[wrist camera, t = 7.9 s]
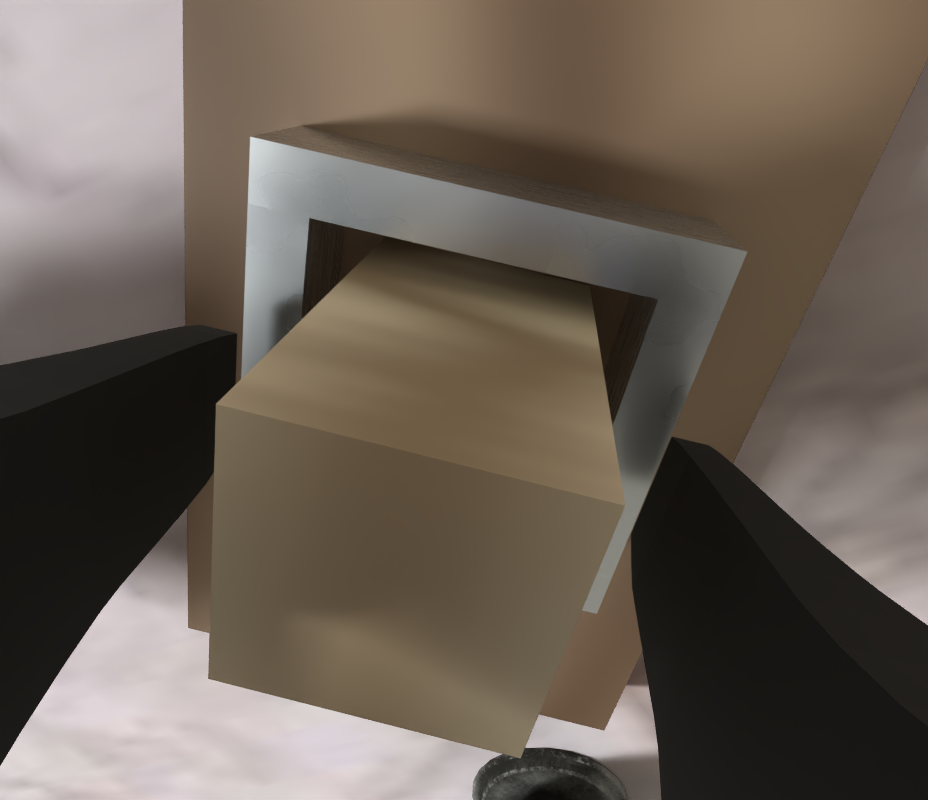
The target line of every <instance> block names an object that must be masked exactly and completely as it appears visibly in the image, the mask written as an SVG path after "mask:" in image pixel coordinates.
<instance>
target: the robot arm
mask: <svg viewBox="0 0 928 800" xmlns="http://www.w3.org/2000/svg"><path fill="white" fill-rule="evenodd" d="M236 356H237V333H234V332H230V331H226V330H221V329H217V328H213V327H209V326H204V325H192V326H184V327H178V328H173V329H168V330H163V331H158V332H154V333H149V334H145V335H141V336H136V337H132V338H128V339H123V340H119V341H115V342H110V343H106V344H102V345H98V346H93V347H89V348H85V349H80V350H76V351H71V352H66V353H61V354H56V355H51V356H46V357H41V358H36V359H31V360H26V361H21V362H16V363H11V364H6V365H0V765H1V764H2V762H3V760H4V759H5V757H6V756H7V754H8V752H9V751H10V749H11V747H12V746H13V744H14V742H15V741H16V739H17V737H18V736H19V734H20V732H21V731H22V729H23V728H24V726H25V725H26V723H27V721H28V720H29V718H30V717H31V715H32V714H33V712H34V711H35V709H36V707H37V706H38V704H39V703H40V701H41V700H42V698H43V697H44V695H45V693H46V692H47V690H48V689H49V687H50V686H51V684H52V683H53V681H54V679H55V678H56V676H57V675H58V673H59V672H60V670H61V669H62V667H63V666H64V664H65V663H66V661H67V660H68V658H69V657H70V655H71V654H72V652H73V651H74V649H75V648H76V647H77V645H78V644H79V642H80V641H81V639H82V638H83V636H84V635H85V633H86V632H87V630H88V629H89V627H90V626H91V625H92V623H93V622H94V620H95V619H96V617H97V616H98V614H99V613H100V611H101V610H102V609H103V607H104V606H105V605H106V604H107V602H108V601H109V600H110V598H111V597H112V596H113V595H114V593H115V592H116V591H117V589H118V588H119V587H120V586H121V584H122V583H123V582H124V581H125V580H126V579H127V577H128V576H129V575H130V574H131V573H132V572H133V570H134V569H135V568H136V567H137V566H138V564H139V563H140V562H141V561H142V560H143V559H144V557H145V556H146V555H147V554H148V553H149V552H150V550H151V549H152V548H153V547H154V546H155V545H156V543H157V542H158V541H159V540H160V539H161V538H162V536H163V535H164V534H165V533H166V532H167V531H168V529H169V528H170V527H171V526H172V525H173V523H174V522H175V521H176V520H177V519H178V518H179V516H180V515H181V514H182V513H183V512H184V510H185V509H186V508H187V507H188V506H189V504H190V503H191V502H192V501H193V500H194V498H195V497H196V496H197V495H198V494H199V492H200V491H201V490H202V489H203V487H204V486H205V485H206V483H207V482H208V480H209V479H210V477H211V476H212V474H213V473H214V458H215V422H216V403H217V402H218V401H220V400H221V399H222V398H223V397H224V396H225V395H226V394H227V393H228V392H229V391H230V390H231V389H232V388H233V387H234V386H235V385H236ZM631 574H632V591H633V597H634V604H635V610H636V616H637V622H638V628H639V634H640V639H641V645H642V651H643V656H644V662H645V668H646V673H647V679H648V685H649V691H650V696H651V702H652V708H653V713H654V720H655V727H656V735H657V743H658V753H659V768H660V783H661V798H662V800H928V625H926V624H925V623H923V622H922V621H921V620H919V619H918V618H917V617H915V616H914V615H912V614H911V613H910V612H908V611H907V610H905V609H904V608H903V607H901V606H900V605H898V604H897V603H896V602H894V601H893V600H892V599H890V598H889V597H887V596H886V595H885V594H883V593H882V592H880V591H879V590H878V589H877V588H875V587H874V586H873V585H871V584H870V583H869V582H867V581H866V580H865V579H864V578H862V577H861V576H860V575H859V574H857V573H856V572H855V571H854V570H852V569H851V568H850V567H849V566H848V565H846V564H845V563H844V562H843V561H841V560H840V559H839V558H838V557H837V556H835V555H834V554H833V553H832V552H831V551H829V550H828V549H827V548H826V547H825V546H823V545H822V544H821V543H820V542H819V541H817V540H816V539H815V538H814V537H813V536H812V535H811V534H809V533H808V532H807V531H806V530H805V529H804V528H803V527H801V526H800V525H799V524H798V523H797V522H796V521H795V520H794V519H793V518H791V517H790V516H789V515H788V514H787V513H786V512H785V511H784V510H783V509H782V508H780V507H779V506H778V505H777V504H776V503H775V502H774V501H773V500H772V499H771V498H770V497H768V496H767V495H766V494H765V493H764V492H763V491H762V490H761V489H760V488H759V487H758V486H757V485H755V484H754V483H753V482H752V481H751V480H750V479H749V478H748V477H747V476H746V475H745V474H744V473H742V472H741V471H740V470H739V469H738V468H737V467H736V466H735V465H734V464H732V463H731V462H730V461H729V460H728V459H727V458H725V457H724V456H723V455H722V454H721V453H719V452H718V451H717V450H715V449H714V448H712V447H711V446H709V445H706V444H701V443H697V442H693V441H689V440H685V439H680V438H676V437H671V439H670V442H669V444H668V447H667V449H666V451H665V454H664V456H663V459H662V461H661V463H660V466H659V468H658V471H657V473H656V475H655V478H654V480H653V483H652V485H651V487H650V490H649V492H648V495H647V497H646V499H645V502H644V504H643V507H642V509H641V511H640V514H639V516H638V518H637V521H636V523H635V526H634V528H633V530H632V533H631Z"/></svg>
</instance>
